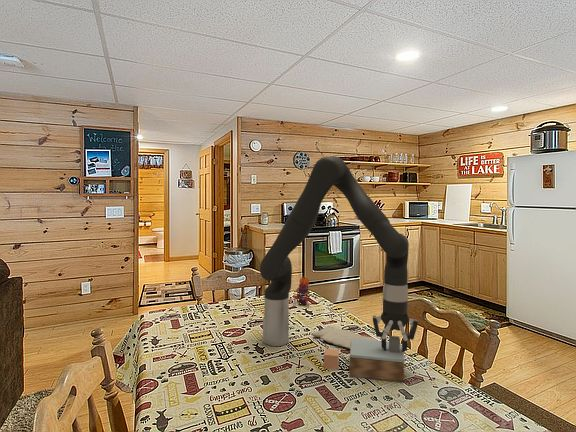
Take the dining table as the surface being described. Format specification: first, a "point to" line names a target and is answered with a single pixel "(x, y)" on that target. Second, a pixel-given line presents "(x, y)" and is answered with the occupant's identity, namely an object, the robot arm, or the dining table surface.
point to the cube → (331, 358)
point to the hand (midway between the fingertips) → (394, 350)
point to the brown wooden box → (376, 369)
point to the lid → (377, 350)
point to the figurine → (302, 292)
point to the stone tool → (339, 336)
